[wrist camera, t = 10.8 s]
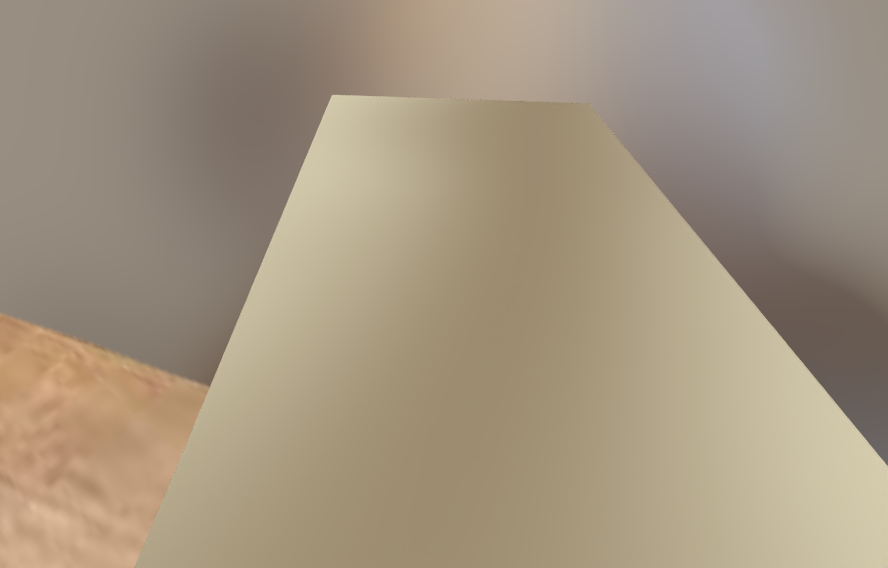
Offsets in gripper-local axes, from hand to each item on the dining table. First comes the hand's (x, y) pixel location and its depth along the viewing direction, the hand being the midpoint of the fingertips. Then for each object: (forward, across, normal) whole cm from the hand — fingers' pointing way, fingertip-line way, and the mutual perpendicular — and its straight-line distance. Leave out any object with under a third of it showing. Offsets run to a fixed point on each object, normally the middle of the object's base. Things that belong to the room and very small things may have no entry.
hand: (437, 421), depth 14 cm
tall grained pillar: (-5, 0, -11) cm, 12 cm away
